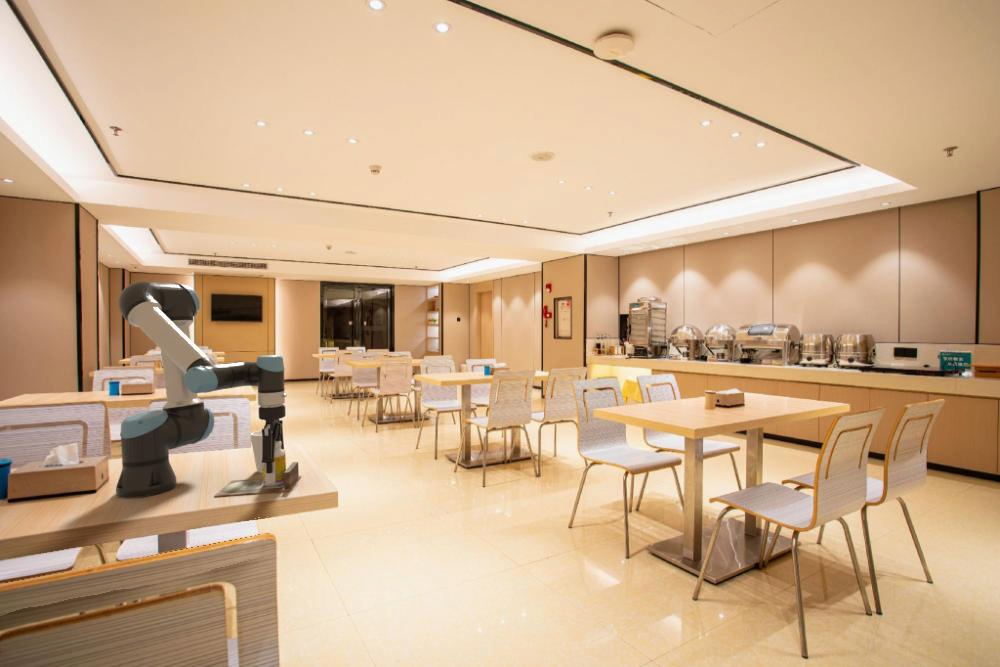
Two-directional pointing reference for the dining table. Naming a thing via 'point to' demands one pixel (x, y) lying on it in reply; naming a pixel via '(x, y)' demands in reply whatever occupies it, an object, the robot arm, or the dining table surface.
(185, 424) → the robot arm
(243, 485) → the keyhole board
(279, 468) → the supplement bottle
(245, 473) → the dining table surface
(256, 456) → the foam cup
